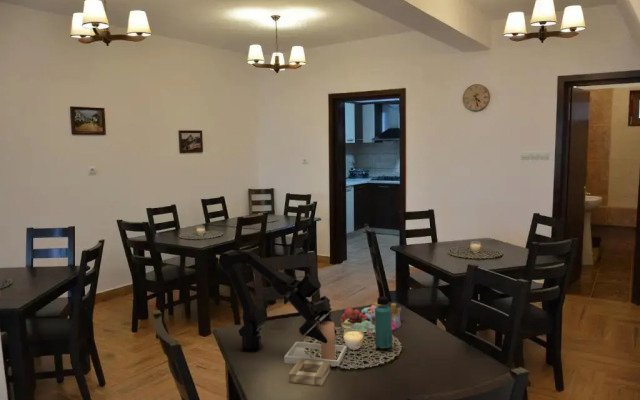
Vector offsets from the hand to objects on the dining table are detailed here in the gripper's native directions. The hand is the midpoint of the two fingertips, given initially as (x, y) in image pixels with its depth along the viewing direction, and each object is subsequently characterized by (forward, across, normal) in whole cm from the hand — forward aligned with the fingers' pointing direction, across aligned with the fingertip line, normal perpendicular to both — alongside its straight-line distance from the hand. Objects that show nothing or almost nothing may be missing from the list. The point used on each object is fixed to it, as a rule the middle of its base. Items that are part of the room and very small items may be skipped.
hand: (331, 337), depth 183 cm
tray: (+2, 0, +10) cm, 11 cm away
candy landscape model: (+9, +40, +4) cm, 41 cm away
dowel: (+5, 0, +6) cm, 8 cm away
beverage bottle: (+17, +16, -4) cm, 24 cm away
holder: (+4, -14, +8) cm, 17 cm away
